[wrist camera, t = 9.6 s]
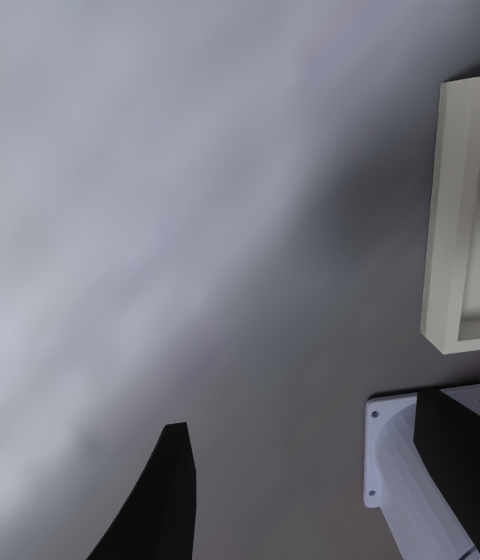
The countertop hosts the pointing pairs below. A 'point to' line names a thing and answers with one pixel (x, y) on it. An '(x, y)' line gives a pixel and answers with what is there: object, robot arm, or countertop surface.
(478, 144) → the tray
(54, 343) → the countertop surface
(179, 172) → the countertop surface
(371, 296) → the countertop surface
